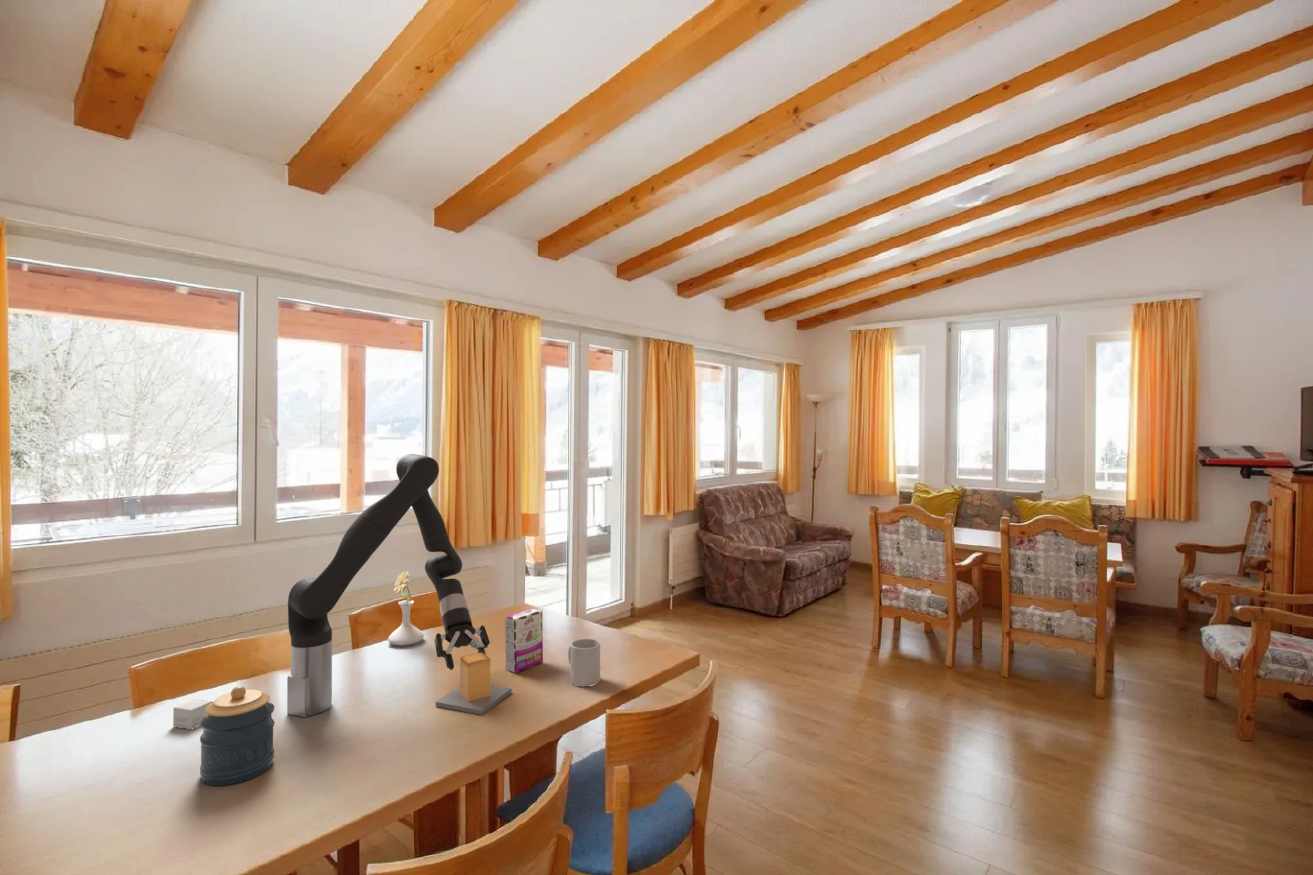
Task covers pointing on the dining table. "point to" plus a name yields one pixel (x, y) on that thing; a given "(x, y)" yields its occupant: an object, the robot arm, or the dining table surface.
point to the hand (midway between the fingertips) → (467, 665)
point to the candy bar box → (523, 640)
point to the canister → (236, 737)
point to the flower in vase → (405, 616)
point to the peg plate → (474, 706)
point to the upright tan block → (475, 676)
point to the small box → (189, 713)
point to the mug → (584, 662)
